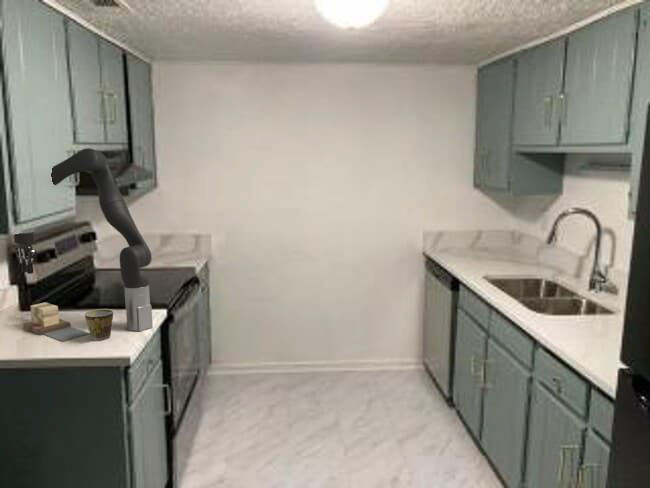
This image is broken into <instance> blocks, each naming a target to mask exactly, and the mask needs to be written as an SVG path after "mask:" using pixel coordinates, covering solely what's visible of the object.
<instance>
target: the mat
mask: <svg viewBox="0 0 650 488" xmlns="http://www.w3.org/2000/svg"><path fill="white" fill-rule="evenodd" d="M87 335H90V332H88V331H84V330H82V329H79V328H76V327H72V326H71V327H67V328H64V329H60V330H56V331H52V332H49V333H45V334H44V335H43V336H46V337H49V338H51V339H54V340H56V341H59V342H67V341H70V340H74V339H78V338H81V337H83V336H84V337H85V336H87Z"/></svg>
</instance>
